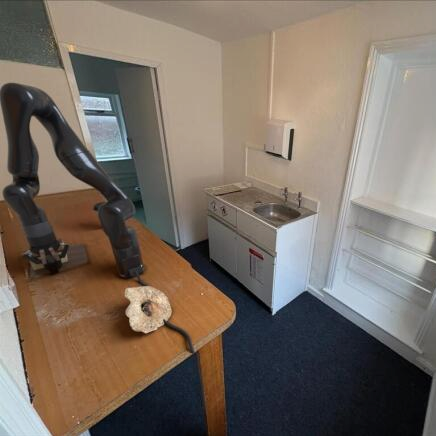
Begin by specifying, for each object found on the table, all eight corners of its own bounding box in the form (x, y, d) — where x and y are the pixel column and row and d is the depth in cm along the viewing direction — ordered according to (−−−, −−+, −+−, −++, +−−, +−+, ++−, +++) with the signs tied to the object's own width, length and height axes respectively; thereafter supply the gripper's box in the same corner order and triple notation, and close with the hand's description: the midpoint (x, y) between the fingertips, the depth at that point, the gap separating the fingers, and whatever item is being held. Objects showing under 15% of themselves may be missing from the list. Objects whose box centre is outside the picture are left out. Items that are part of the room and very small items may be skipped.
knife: (59, 272, 94) (53, 259, 92) (51, 275, 93) (45, 261, 90) (57, 250, 108) (52, 238, 105) (50, 251, 106) (44, 239, 104)
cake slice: (67, 261, 102) (63, 249, 100) (57, 263, 100) (52, 252, 98) (65, 249, 110) (61, 238, 108) (56, 251, 108) (52, 240, 106)
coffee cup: (115, 223, 140) (109, 200, 133) (124, 228, 135) (118, 204, 129) (96, 229, 132) (88, 204, 126) (105, 234, 128) (97, 209, 121)
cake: (52, 265, 99) (47, 253, 97) (33, 270, 96) (28, 258, 93) (51, 252, 107) (47, 241, 104) (34, 257, 103) (29, 245, 101)
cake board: (89, 263, 104) (88, 261, 104) (31, 280, 93) (30, 277, 92) (84, 245, 117) (83, 242, 116) (32, 257, 105) (31, 254, 105)
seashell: (175, 330, 84) (181, 318, 81) (128, 349, 73) (133, 336, 69) (158, 290, 92) (163, 278, 89) (114, 302, 81) (118, 288, 78)
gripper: (11, 241, 82) (30, 280, 90) (64, 230, 91) (77, 266, 99) (13, 233, 87) (31, 270, 94) (63, 223, 96) (76, 258, 103)
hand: (55, 268), depth 96 cm, fingers closed on knife, 2 cm apart
